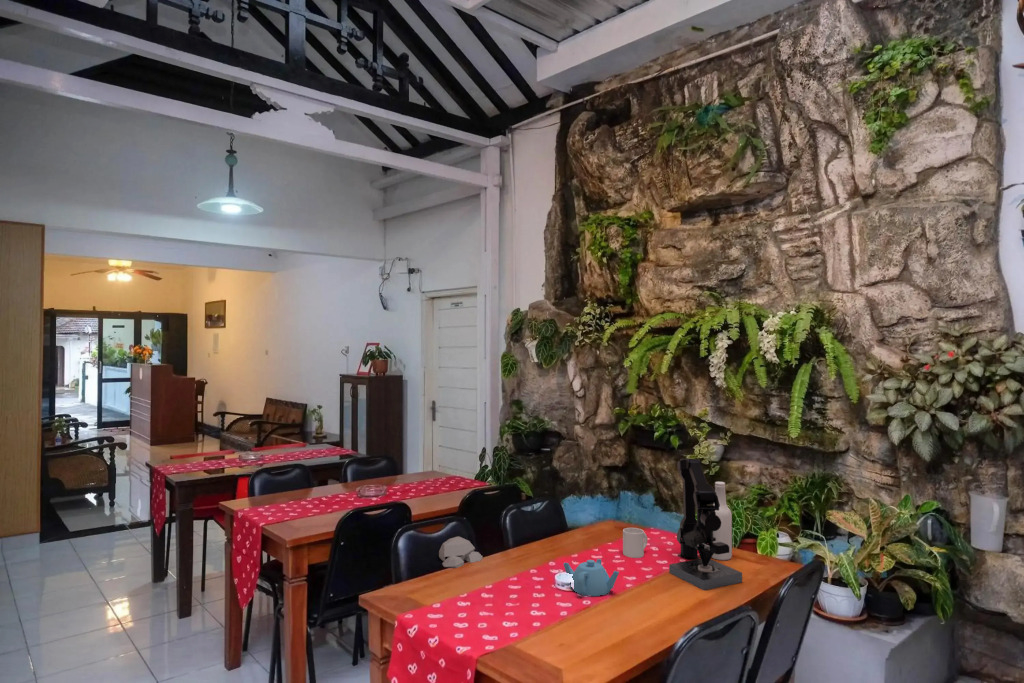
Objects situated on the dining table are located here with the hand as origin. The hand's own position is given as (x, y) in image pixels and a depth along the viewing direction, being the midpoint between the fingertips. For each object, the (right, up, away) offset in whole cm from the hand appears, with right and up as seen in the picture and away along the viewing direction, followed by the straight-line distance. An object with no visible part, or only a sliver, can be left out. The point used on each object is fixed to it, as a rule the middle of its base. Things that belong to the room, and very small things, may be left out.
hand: (705, 566), depth 228 cm
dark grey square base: (0, -4, 0) cm, 4 cm away
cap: (0, -4, 0) cm, 4 cm away
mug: (-20, -5, +25) cm, 32 cm away
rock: (-92, -5, +13) cm, 94 cm away
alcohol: (+13, -5, +23) cm, 27 cm away
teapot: (-43, -4, -13) cm, 46 cm away
